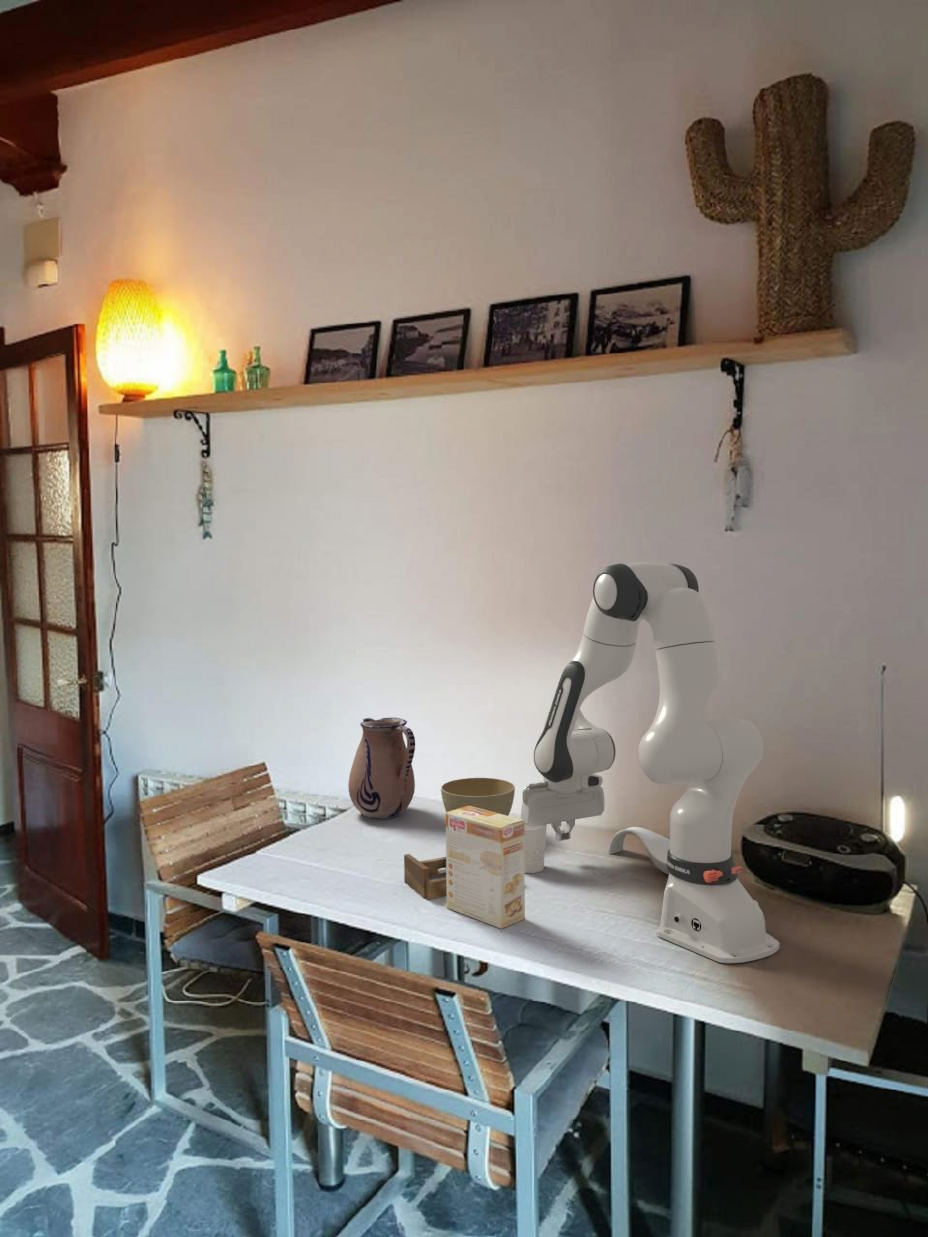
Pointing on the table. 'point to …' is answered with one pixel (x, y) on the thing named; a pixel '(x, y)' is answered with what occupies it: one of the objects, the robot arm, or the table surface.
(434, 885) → the brown wooden frame
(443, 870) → the pusher
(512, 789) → the flower pot
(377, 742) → the ceramic pitcher
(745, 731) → the robot arm
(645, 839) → the spoon rest
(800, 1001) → the table surface
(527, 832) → the white cup
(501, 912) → the coffeecake box
